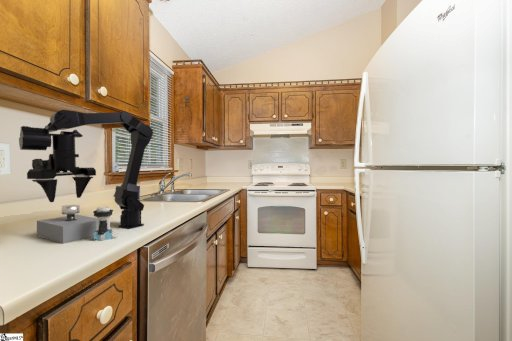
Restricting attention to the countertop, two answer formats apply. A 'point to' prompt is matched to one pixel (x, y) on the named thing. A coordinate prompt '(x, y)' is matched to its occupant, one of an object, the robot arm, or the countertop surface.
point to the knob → (70, 211)
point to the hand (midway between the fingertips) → (65, 199)
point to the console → (67, 228)
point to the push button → (103, 224)
